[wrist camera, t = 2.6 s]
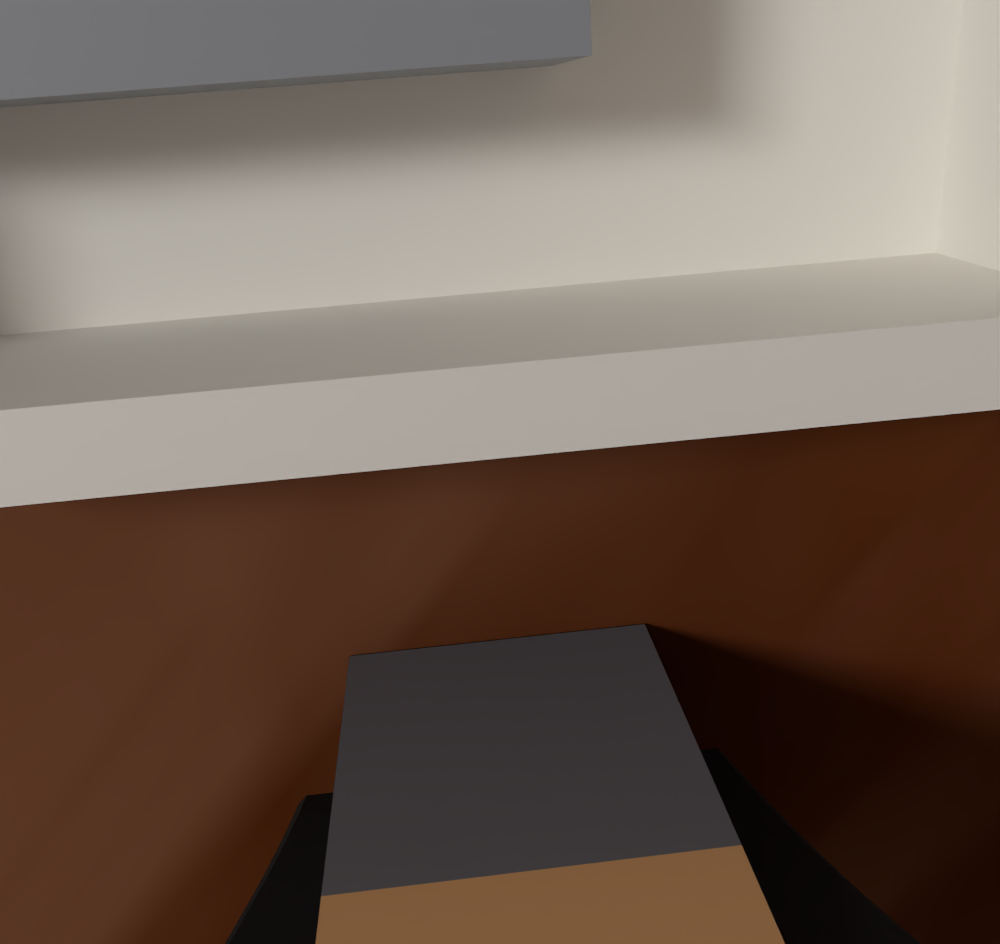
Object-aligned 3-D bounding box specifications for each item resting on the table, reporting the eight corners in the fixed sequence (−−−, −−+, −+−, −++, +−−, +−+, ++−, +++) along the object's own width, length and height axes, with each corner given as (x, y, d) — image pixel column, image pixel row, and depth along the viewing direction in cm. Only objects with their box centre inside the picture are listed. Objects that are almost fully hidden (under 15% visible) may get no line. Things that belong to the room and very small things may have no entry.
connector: (644, 624, 12) (829, 1044, 7) (647, 849, 14) (800, 1342, 8) (349, 656, 12) (294, 1115, 7) (385, 881, 14) (365, 1407, 8)
